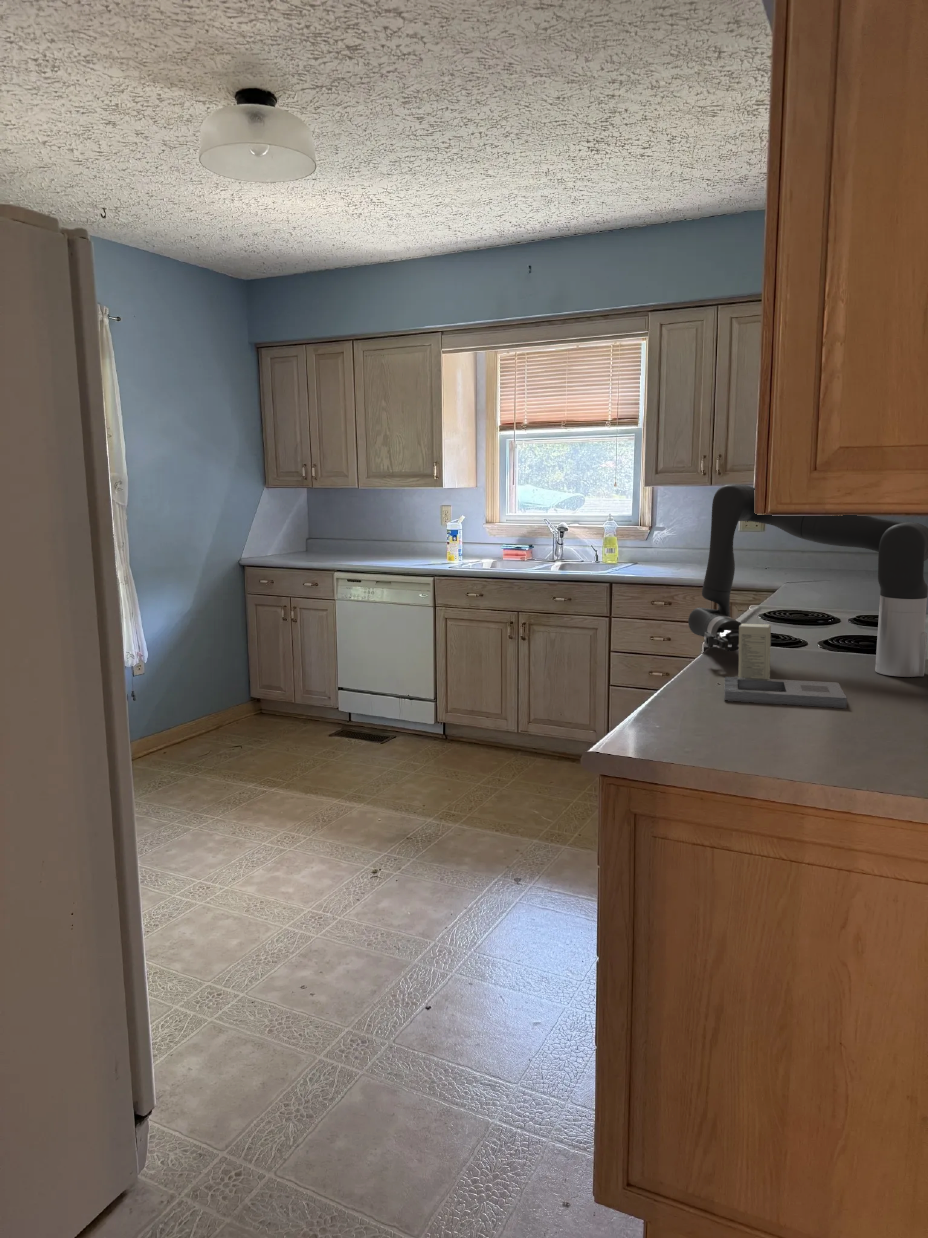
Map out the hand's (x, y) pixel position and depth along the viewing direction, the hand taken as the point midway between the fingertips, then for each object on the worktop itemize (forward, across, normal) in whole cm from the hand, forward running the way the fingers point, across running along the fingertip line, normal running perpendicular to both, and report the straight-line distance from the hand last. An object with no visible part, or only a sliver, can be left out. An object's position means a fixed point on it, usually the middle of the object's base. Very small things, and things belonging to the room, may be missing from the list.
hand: (746, 645), depth 187 cm
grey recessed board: (+21, +1, +6) cm, 22 cm away
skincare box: (+6, 0, +7) cm, 9 cm away
